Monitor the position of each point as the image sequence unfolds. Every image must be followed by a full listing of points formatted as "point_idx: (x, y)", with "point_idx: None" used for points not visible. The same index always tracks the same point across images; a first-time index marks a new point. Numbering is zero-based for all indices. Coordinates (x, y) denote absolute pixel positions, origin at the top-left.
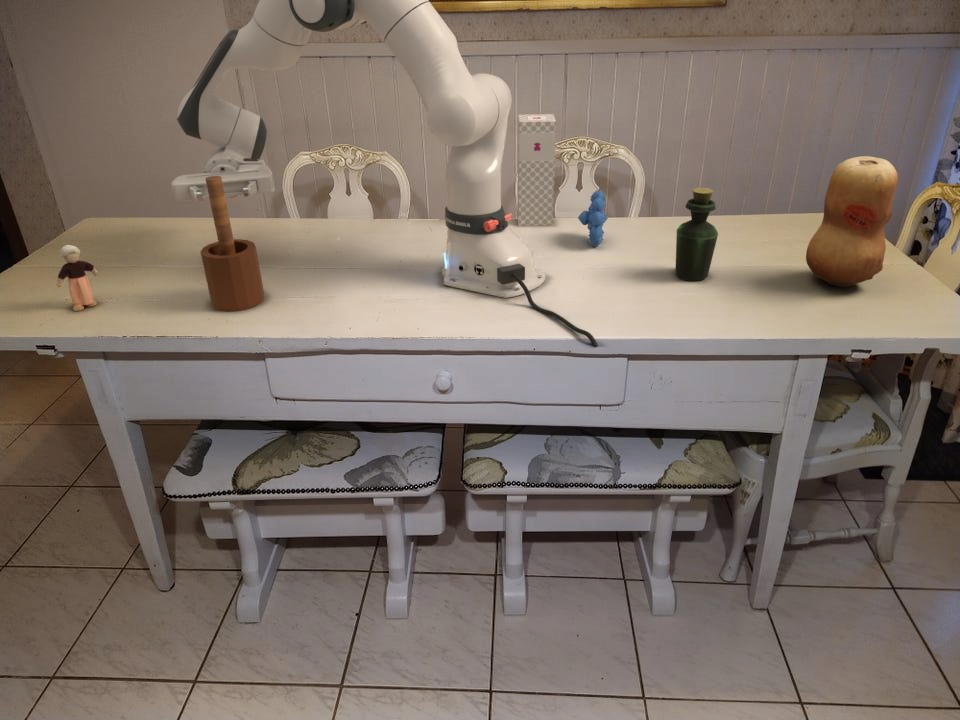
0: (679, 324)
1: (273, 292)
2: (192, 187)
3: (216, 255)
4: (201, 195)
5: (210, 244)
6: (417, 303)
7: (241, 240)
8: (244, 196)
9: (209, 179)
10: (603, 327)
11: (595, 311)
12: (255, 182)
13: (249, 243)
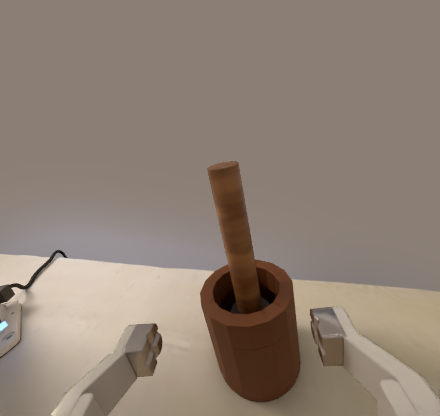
0: (4, 264)
1: (204, 375)
2: (404, 386)
3: (260, 266)
4: (310, 313)
5: (282, 307)
6: (80, 307)
7: (221, 316)
8: (161, 343)
9: (229, 162)
10: (33, 264)
11: (9, 280)
12: (67, 391)
13: (208, 300)
